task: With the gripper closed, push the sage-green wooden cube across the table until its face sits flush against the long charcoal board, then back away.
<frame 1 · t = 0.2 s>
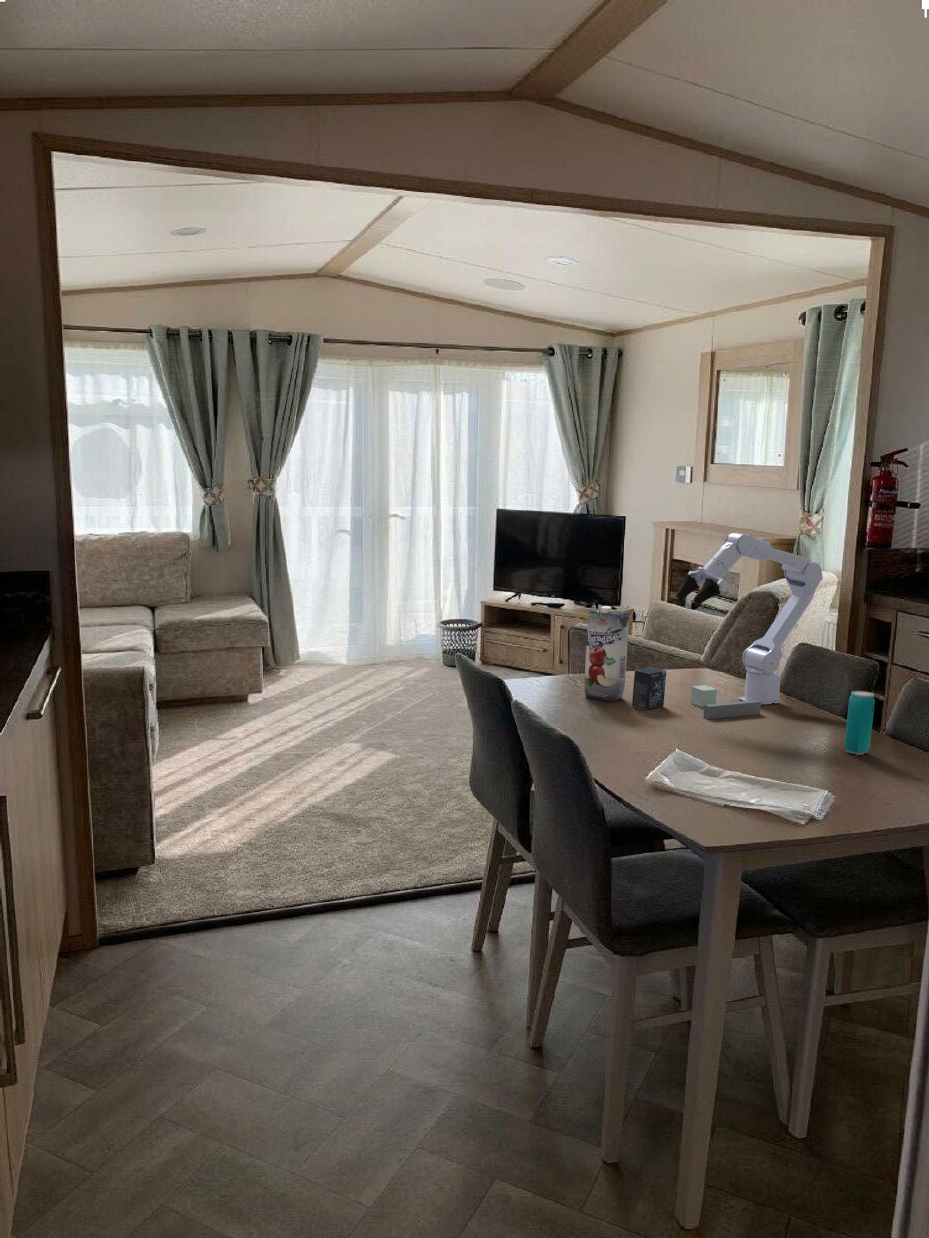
hand: (686, 600, 273), 31 cm above the table, tool tilted 45°, fingers open, 7 cm apart
beverage can: (856, 753, 242), on the table
box: (647, 707, 279), on the table
juice carton: (603, 698, 286), on the table
board: (731, 715, 272), on the table
block: (703, 704, 283), on the table
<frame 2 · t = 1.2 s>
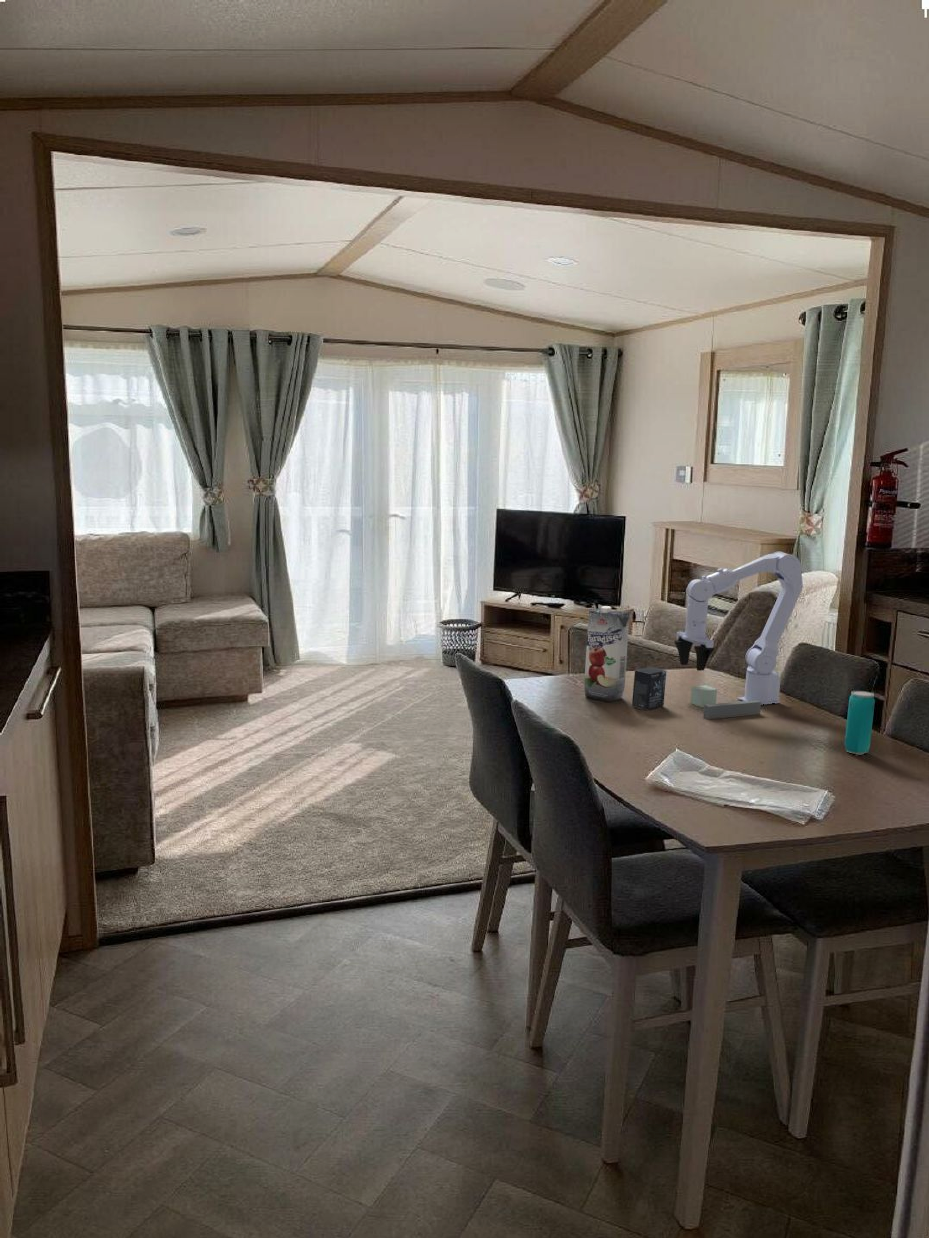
hand: (692, 667, 287), 10 cm above the table, tool pointing down, fingers open, 7 cm apart
nothing on the table moved.
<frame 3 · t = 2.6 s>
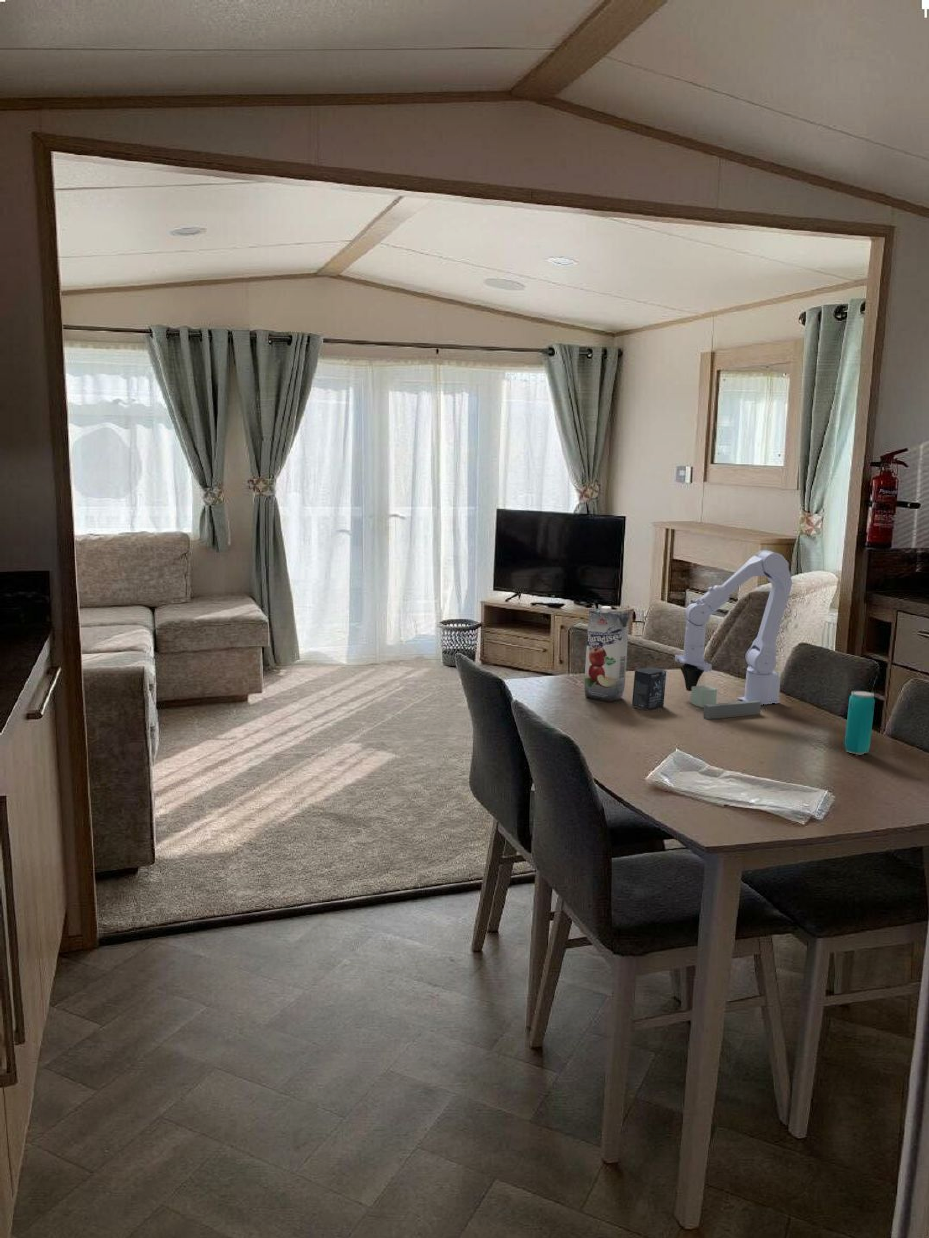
hand: (690, 690, 288), 3 cm above the table, tool pointing down, fingers closed
nothing on the table moved.
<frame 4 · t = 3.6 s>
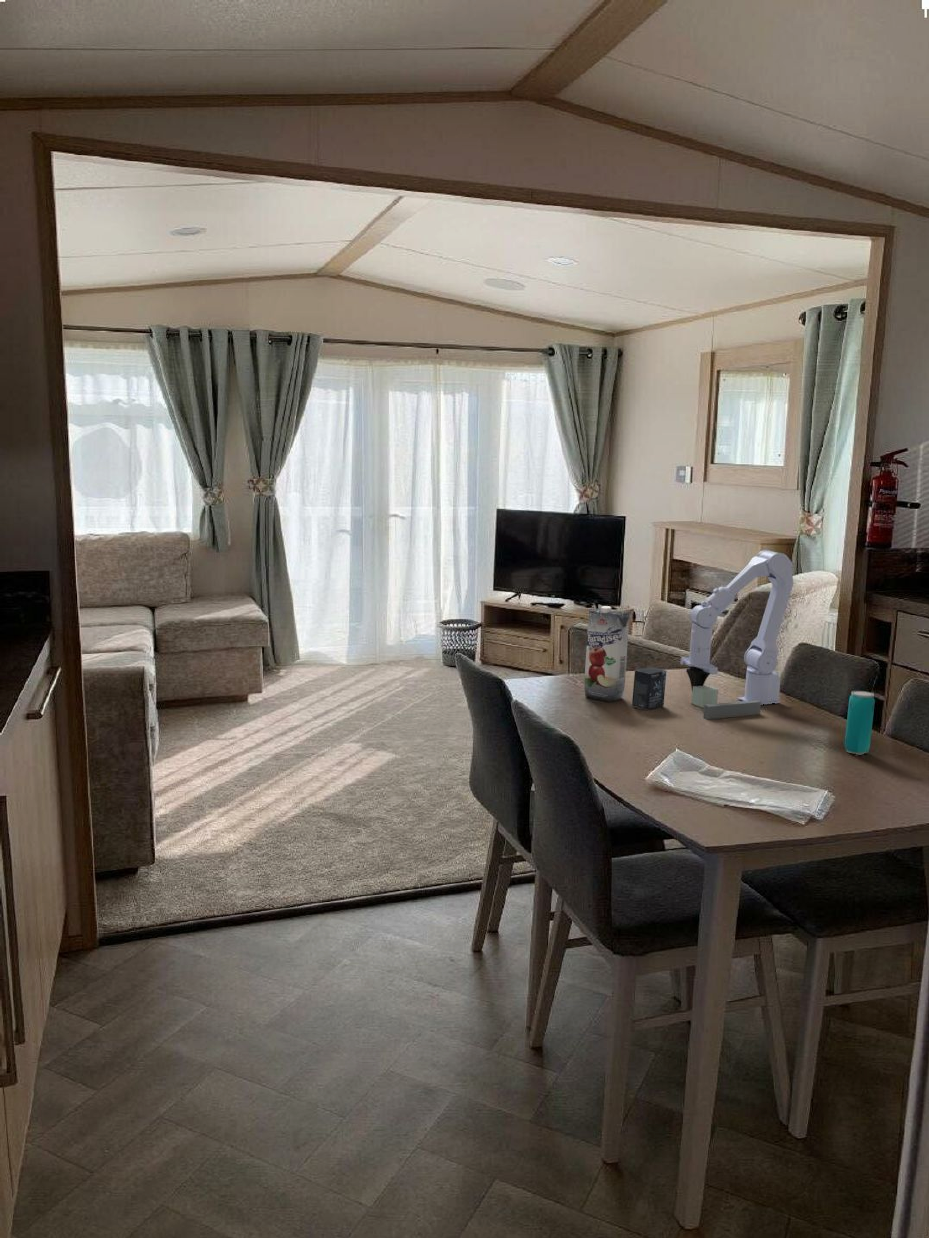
hand: (696, 693, 286), 2 cm above the table, tool pointing down, fingers closed
block: (704, 704, 283), on the table, touching gripper
everything else where it was.
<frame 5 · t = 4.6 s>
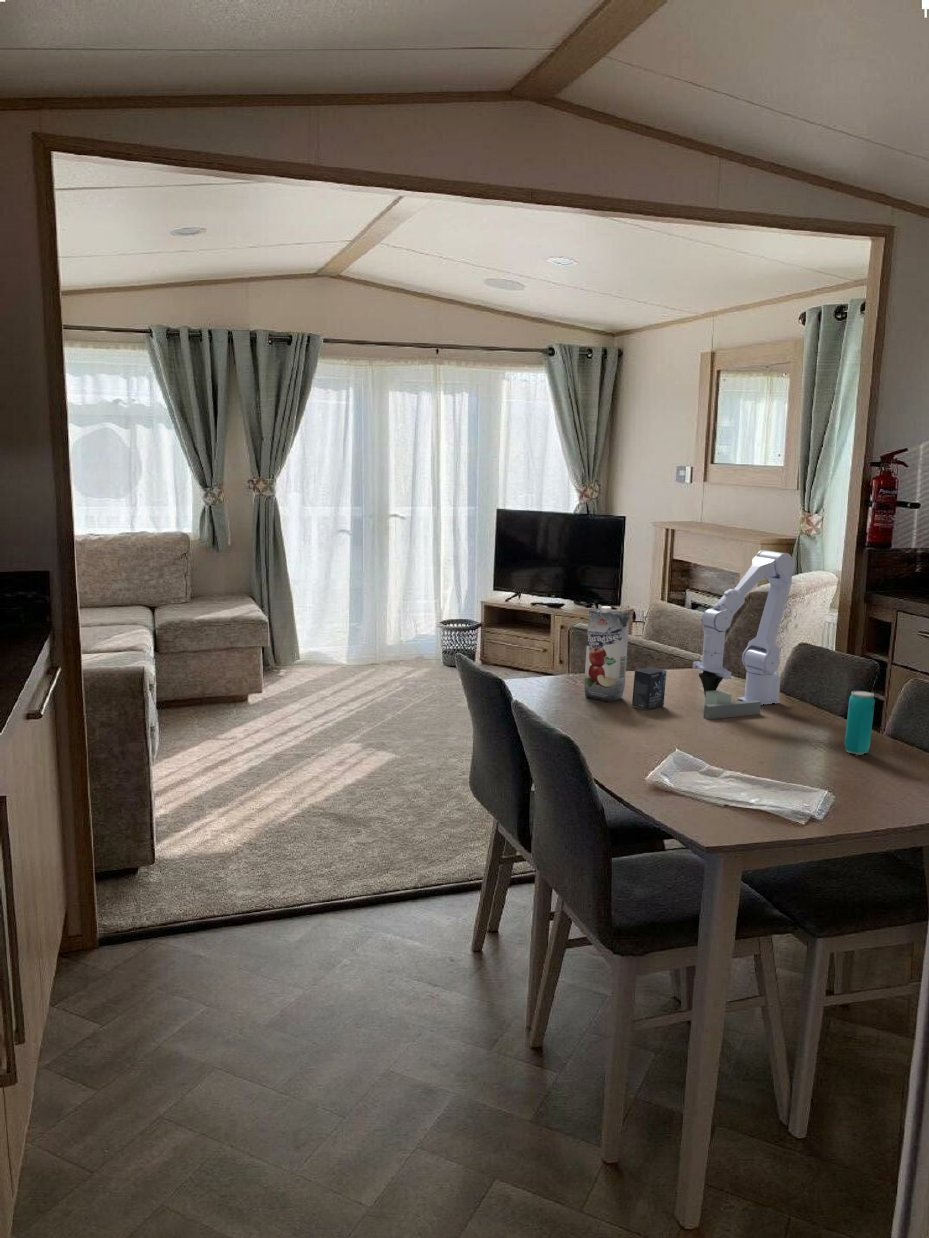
hand: (709, 698, 281), 2 cm above the table, tool pointing down, fingers closed
block: (717, 709, 278), on the table, touching gripper
everything else where it was.
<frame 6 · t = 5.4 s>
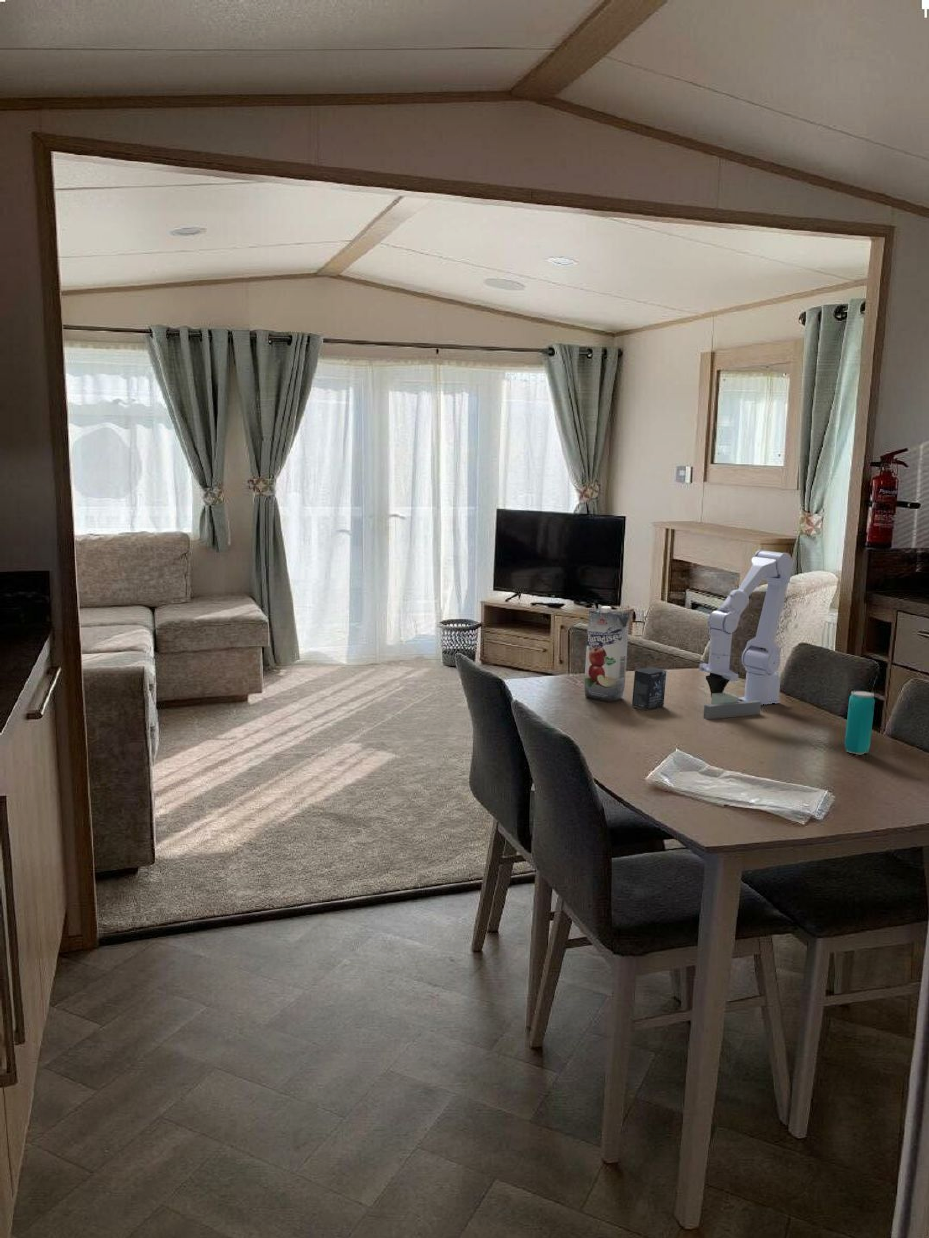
hand: (715, 700, 278), 2 cm above the table, tool pointing down, fingers closed
block: (723, 712, 275), on the table, touching board, gripper
everything else where it was.
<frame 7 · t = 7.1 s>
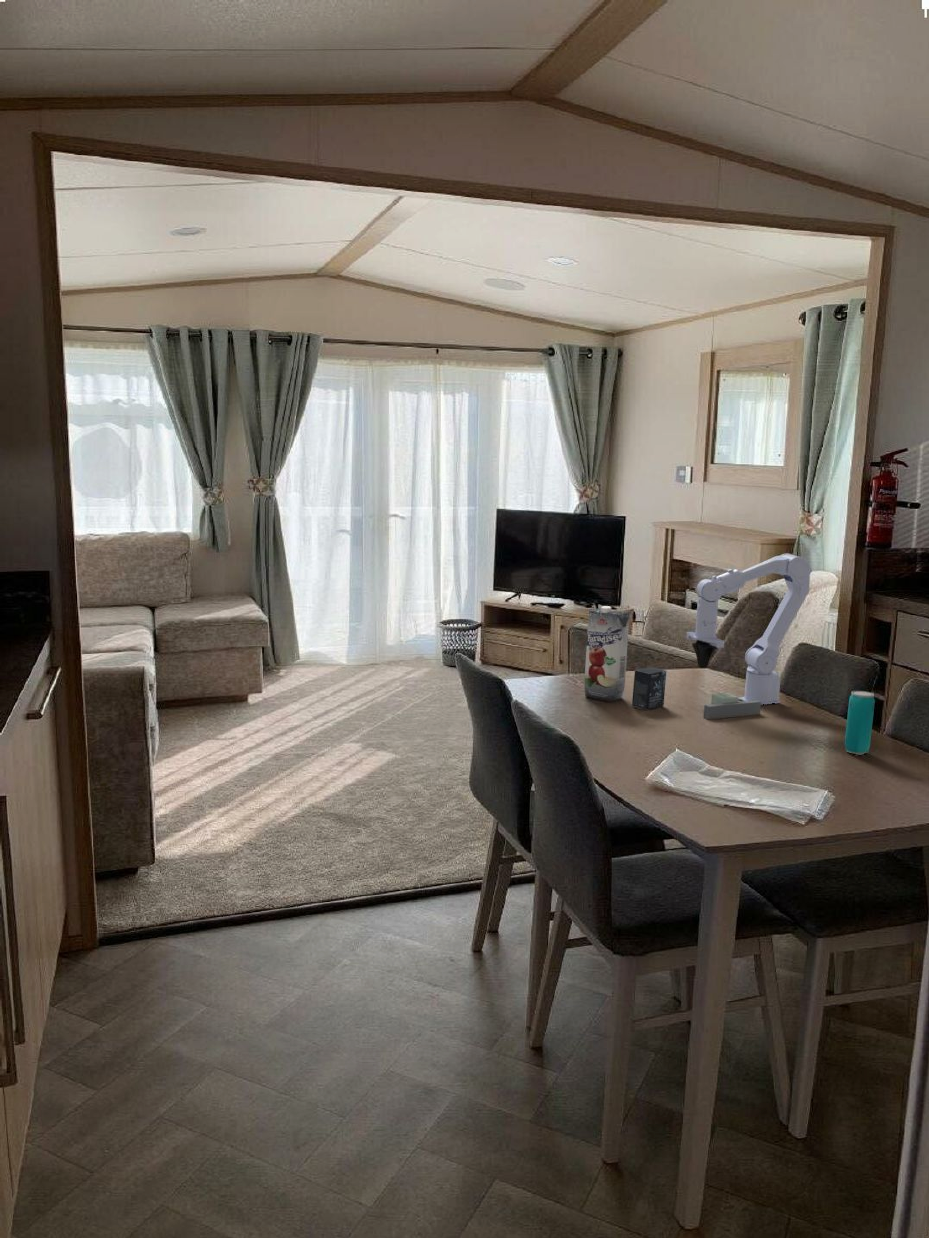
hand: (702, 667, 286), 10 cm above the table, tool pointing down, fingers closed
block: (723, 712, 275), on the table
everything else where it was.
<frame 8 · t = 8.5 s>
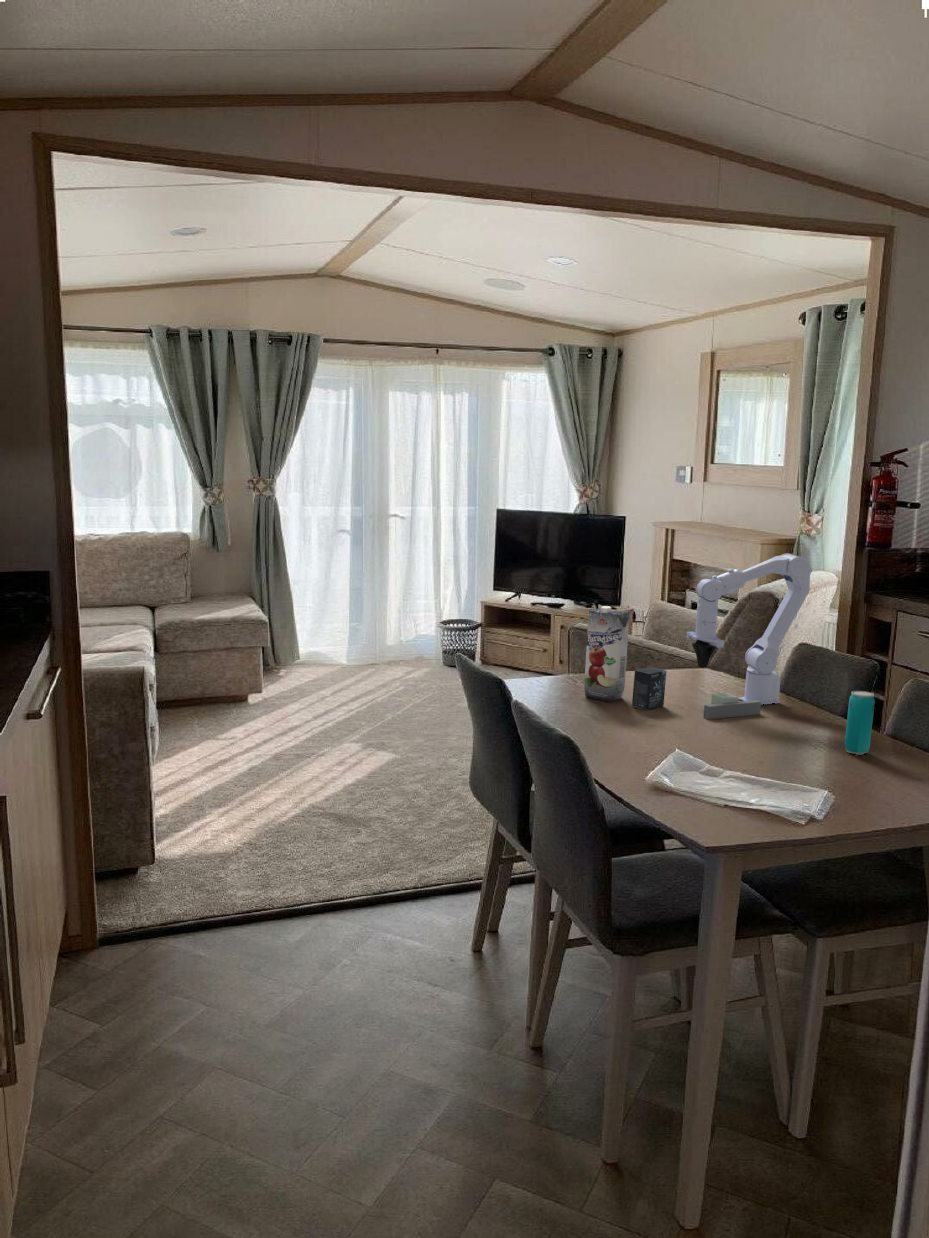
hand: (702, 667, 286), 10 cm above the table, tool pointing down, fingers closed
nothing on the table moved.
at the end: block 0.2 cm from the target spot on the table beside the board, on the table; block tilted 0° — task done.
